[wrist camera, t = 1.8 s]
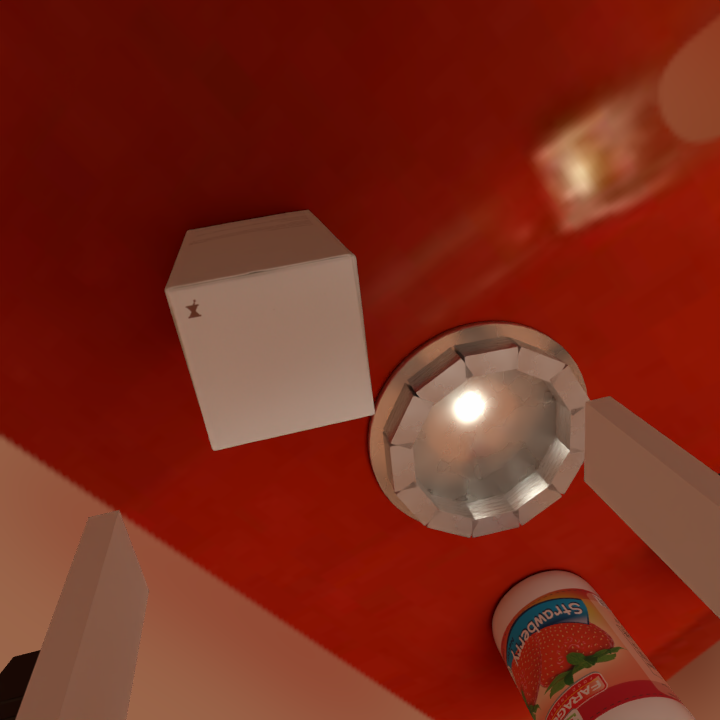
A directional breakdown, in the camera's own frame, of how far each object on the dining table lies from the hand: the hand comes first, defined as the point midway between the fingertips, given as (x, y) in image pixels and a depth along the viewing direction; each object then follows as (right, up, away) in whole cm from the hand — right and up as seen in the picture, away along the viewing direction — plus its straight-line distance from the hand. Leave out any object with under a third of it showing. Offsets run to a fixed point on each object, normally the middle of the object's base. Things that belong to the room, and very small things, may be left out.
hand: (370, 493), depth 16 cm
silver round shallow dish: (+8, -1, +25) cm, 27 cm away
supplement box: (-6, +8, +19) cm, 21 cm away
